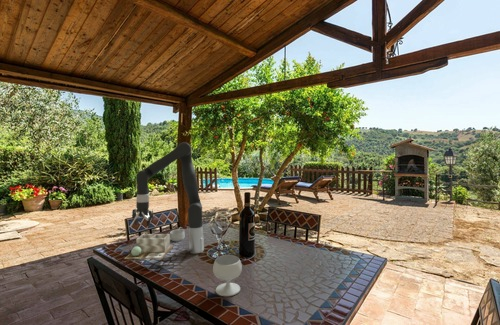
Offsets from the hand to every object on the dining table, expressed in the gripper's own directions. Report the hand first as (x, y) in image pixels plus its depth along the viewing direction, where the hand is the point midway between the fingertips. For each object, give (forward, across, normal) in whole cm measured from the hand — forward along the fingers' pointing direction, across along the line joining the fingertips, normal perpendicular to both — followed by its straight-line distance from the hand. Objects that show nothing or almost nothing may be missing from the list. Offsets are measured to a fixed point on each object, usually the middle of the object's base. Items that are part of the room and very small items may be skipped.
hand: (142, 225), depth 162 cm
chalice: (+19, -69, +26) cm, 76 cm away
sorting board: (+21, -2, -6) cm, 21 cm away
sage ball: (+19, +3, +2) cm, 20 cm away
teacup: (+20, -6, -34) cm, 40 cm away
